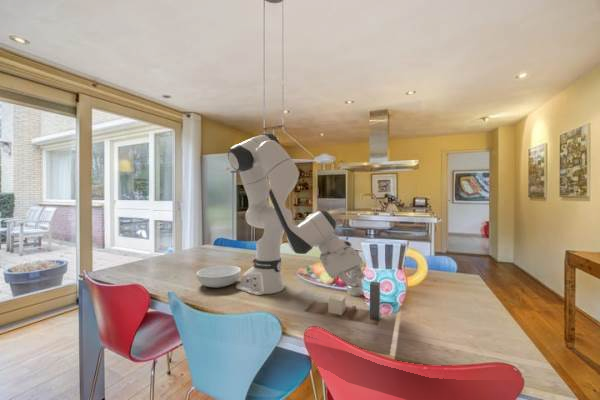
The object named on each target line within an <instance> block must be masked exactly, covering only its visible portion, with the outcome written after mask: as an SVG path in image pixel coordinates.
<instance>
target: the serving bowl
mask: <svg viewBox="0 0 600 400" xmlns="http://www.w3.org/2000/svg"><path fill="white" fill-rule="evenodd" d="M241 273H242V269H241V268H240V267H239V266H235V265H217V266H210V267H205V268H202V269H200V270H198V271H197V272H196V277H197V278H196V279H197V281H198V282H199V283H200V284H201V285H202V286H204V287H208V288H215V289H216V288H219V289H220V288H224V287H227V286H230V285H232V284H234V283H236V282H237V281H238V280H239V278H240V276H241Z"/></svg>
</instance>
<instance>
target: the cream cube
mask: <svg viewBox="0 0 600 400" xmlns="http://www.w3.org/2000/svg"><path fill="white" fill-rule="evenodd" d="M346 299H347V298H346V295H342V294H336V293H335V294H334V293H332V294H331V295H330V296H329V297H328V299H327V300H328V302H327V303H328V312H329V313H334V314H339V315H342V314H343V313H344V311H345V307H347V306H346V304H347V303H346Z"/></svg>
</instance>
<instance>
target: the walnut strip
mask: <svg viewBox="0 0 600 400" xmlns="http://www.w3.org/2000/svg"><path fill="white" fill-rule="evenodd" d="M304 312H307V313H312V314H317V315H322V316H327V317H333V318H336V319H337V318H338V319H342V320H346V321H352V322H353V321H354V322H358V323H363V324H367V325H368V324H369V325H373V326H378V325H379V321H380V318H381V315H382V312H381V282H378V281H370V282H369V310H368V309H362V308H357V306H355V305H353V306H352V307H351V306H345V311H344V313H343V314H342V315H339V314H334V313H329V312H328V302H321V301H315V300H314V301H312V302H311V303H310V304H309V305H308V306H307V308H305V309H304Z"/></svg>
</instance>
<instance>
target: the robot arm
mask: <svg viewBox="0 0 600 400" xmlns="http://www.w3.org/2000/svg"><path fill="white" fill-rule="evenodd" d="M227 159H228V161H229V164H230V166H231V167H232V168H233V169H234V171H237V172H238V173H239V178H240V179H241V183H242V186H243V188H244V191H245V193H246V196H247V200H248V201H247V203H248V208H247V210H246V212H245V215H244V216H245V217H244V218H245V221H246V223H247V224H248V225H249V226H251V227H253V228H256V229H263V235H262V236H261V238H259V239H258V240H257V241H256V257H255V258H254V259H252V260H251V264H253V265H252V266H251V267H250V268H249V269H247V270H246V271H245V272H244V273H243V274H242V275H241V281H240V282H239V283H238V284H236V287H235V289H236V290H240V291H243V292H246V293H250V294H252V295H255V296H261V295H262V296H263V295H268V294H276V293H279V292H281V291H283V290H284V288H285V287H284V284H283V280H282V279H283V278H282V272H281V271H282V258H281V243H282V238H283V236H284V234H285V236H286V241H287V244H288V246H289V248H290V249H291V251H292V252H293V253H294V254H298V255H306V254H308V253H309V252H310V251H311V250H312V249H313V248H314V247H316V246H317V247H318V250H319V251H320V255H319V259H320V261H321V265H322V266H323V268H324V270H325V272H326V273H327V275H328V277H331V278H337V277H338V279H339V280H341V281H343V282H344V283H345V285H347V286H349V285H351V284H352V283H353V281H352V280H351V279H350V278H348V275H346V273H348V272H349V271H351V270H353V269H354V270H355V271H357V273H358V277H359V278H360V279H361V280H362V279H364V278H365V277H366V274H364V272H363V270H362V269H363V268H361V267H360V265H361V264H362V265H363V263H364V261H363V258H362V257H361V255H360V253H359V254H358V253H357V252H356V250H357V249H355V248H354V247H352V246H353V244H352V243H351V241H347V240H343V239H340V237H339V236H338V235H337V234H335V232H336V227H337V221H336V220H335V219H334V218H333V217H332V216H331V214H330V213H329V211H326V210H318V211H316V212H314V213H309V214H308V216H306V217H305V218H304V220H302V221H301V222H300V223H299V224H297V225H294V222H293V214H292V211H291V210H290V209H289V208H287V207H286V201H287V198H288V197H289V195H290V194H291V192H292V191H293V189H294V188H295V186H296V184H298V183H297V182H298V180H299V177H300V172H299V169H298V167H297V165H296V164H295V162H294V161H293V159H292V158H291V156H290V154H289V153H288V152H287V151H286V150H285V149H284V148H283V147H282V146H281V144H280V140H279V139H278V138H277V137H276V136H275V135H274V134H273V133H271V132H269V133H268V132H267V133H261V135H256V136H253V137H250V138H248V139H245V140H244V141H242V142H240V143H238V144H234V145H233V146H231V147H230V148H229V149H228V151H227ZM268 198H270V200H271V203H272V205H270V204H269V201H268Z"/></svg>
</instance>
